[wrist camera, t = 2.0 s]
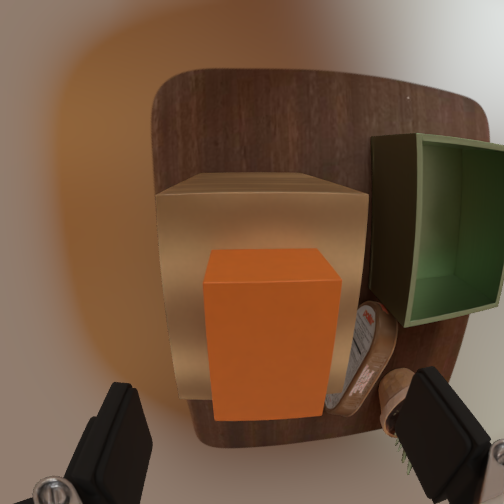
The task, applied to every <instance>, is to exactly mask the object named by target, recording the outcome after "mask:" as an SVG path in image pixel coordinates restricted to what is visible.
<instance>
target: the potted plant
mask: <svg viewBox="0 0 504 504" xmlns="http://www.w3.org/2000/svg"><path fill="white" fill-rule="evenodd" d="M414 374H415V373H414V372H412V371H411V370H409V369H407V368H399V369H395V370H392V371H390V372H389V373H388V374H386V375H385V376H384V377H383V378H382V380H381V381H380V384H379V389H378V391H379V400H380V405H381V415H380V422H381V425H382V428H383V431H384V432H385V433H386V434H387V435H389V436H390V437H394V438H397V440H396V443H395V446H396V445H397V444H398V442H399V439H398V437H397V435H396V433H395V423H396V421H397V418H398V416H399V413H400V411H401V408H402V405H403V403H404V400H405V397H406V394H407V391H408V389H409V386H410V383H411V380H412V377H413V375H414ZM401 447H402V445H401V444H400V446H399V448H398V451H400V449H401ZM402 456H403V457H402V463H404V461H405V458H406V456H407V455H406V453H405V451H404V450H403V454H402ZM411 468H412V465H411V463H410V461H409V462H408V468H407V475H409V473H410V470H411ZM439 503H440V502H439Z"/></svg>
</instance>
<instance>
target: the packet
mask: <svg viewBox="0 0 504 504" xmlns="http://www.w3.org/2000/svg"><path fill="white" fill-rule="evenodd" d="M341 288H342V279H341V277H340V276H339V275H338V274H337V272H336V271H335V270H334V269H333V267H332V266H331V265H330V264H329V262H328V261H327V260H326V259H325V257H324V256H323V255H322V254H321V253H320V251H319V250H318V249H317V248H300V249H227V250H211V253H210V257H209V261H208V264H207V268H206V272H205V276H204V280H203V298H204V312H205V326H206V338H207V350H208V361H209V372H210V382H211V392H212V401H213V411H214V419H215V421H255V420H276V419H291V418H303V417H313V416H321V415H322V413H323V407H324V402H325V397H326V392H327V386H328V380H329V375H330V369H331V362H332V356H333V350H334V343H335V336H336V329H337V321H338V314H339V305H340V297H341Z"/></svg>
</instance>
